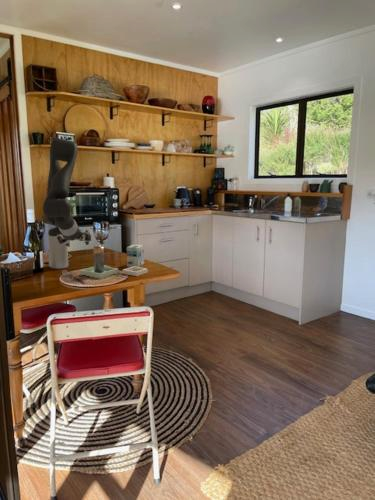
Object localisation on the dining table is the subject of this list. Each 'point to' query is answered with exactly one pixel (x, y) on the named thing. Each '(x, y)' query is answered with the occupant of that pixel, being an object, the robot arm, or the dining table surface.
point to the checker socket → (133, 272)
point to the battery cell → (98, 259)
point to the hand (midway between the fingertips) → (78, 244)
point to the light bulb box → (135, 255)
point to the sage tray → (91, 273)
